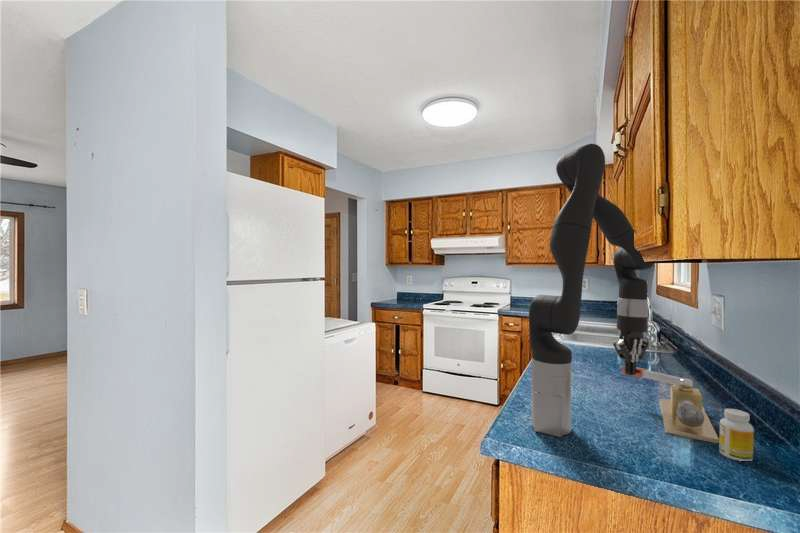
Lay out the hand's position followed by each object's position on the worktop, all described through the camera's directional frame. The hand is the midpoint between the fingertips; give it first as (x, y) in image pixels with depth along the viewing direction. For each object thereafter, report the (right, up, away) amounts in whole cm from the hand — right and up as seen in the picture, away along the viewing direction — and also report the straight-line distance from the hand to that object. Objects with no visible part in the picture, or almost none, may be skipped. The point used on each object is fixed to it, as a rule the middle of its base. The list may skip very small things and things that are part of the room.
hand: (630, 374), depth 104 cm
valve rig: (+9, -10, -8) cm, 16 cm away
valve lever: (+6, -1, -3) cm, 6 cm away
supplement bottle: (+6, -10, -26) cm, 29 cm away
